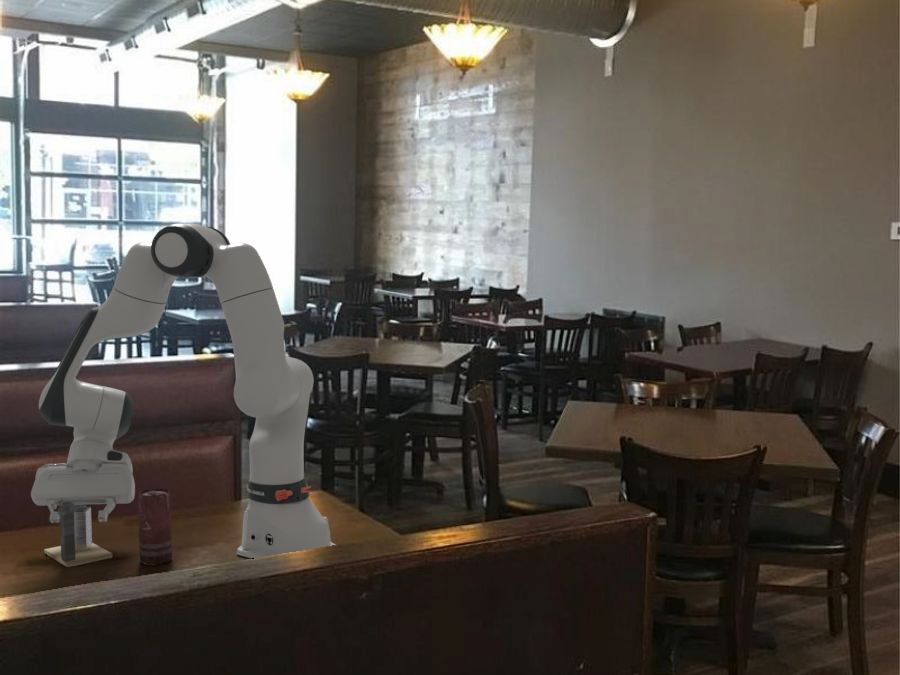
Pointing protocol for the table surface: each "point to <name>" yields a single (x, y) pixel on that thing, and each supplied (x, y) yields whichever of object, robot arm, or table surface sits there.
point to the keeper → (73, 542)
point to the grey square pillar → (82, 527)
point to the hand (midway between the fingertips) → (78, 520)
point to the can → (155, 526)
